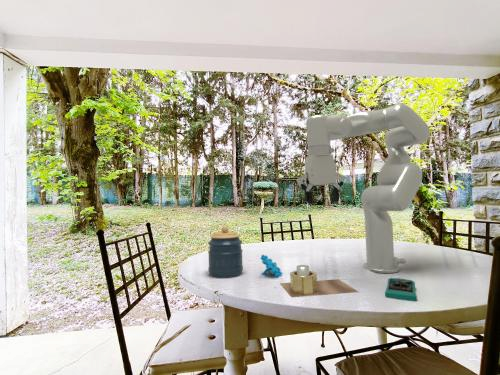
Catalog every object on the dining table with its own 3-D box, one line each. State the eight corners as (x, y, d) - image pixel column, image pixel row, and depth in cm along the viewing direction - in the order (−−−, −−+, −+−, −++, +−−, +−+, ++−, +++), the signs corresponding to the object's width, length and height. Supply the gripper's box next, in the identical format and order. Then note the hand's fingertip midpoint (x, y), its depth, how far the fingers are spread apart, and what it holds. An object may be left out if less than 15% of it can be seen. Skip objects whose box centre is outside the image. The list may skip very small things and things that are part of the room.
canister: (248, 270, 109) (247, 225, 110) (232, 279, 97) (231, 228, 98) (219, 268, 115) (219, 224, 115) (201, 276, 103) (200, 227, 104)
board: (338, 281, 93) (338, 279, 93) (359, 294, 80) (359, 291, 80) (279, 285, 90) (279, 283, 90) (291, 299, 77) (291, 297, 77)
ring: (310, 286, 87) (310, 269, 87) (320, 293, 80) (319, 275, 80) (288, 287, 86) (288, 271, 86) (296, 295, 79) (295, 277, 79)
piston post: (307, 288, 85) (306, 264, 85) (311, 292, 81) (310, 267, 81) (295, 289, 84) (294, 265, 84) (299, 293, 80) (298, 268, 81)
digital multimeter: (415, 289, 85) (414, 279, 85) (417, 306, 72) (416, 294, 72) (388, 285, 88) (387, 276, 89) (385, 301, 75) (384, 290, 76)
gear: (279, 276, 94) (259, 254, 98) (267, 288, 95) (248, 265, 99) (287, 272, 104) (269, 252, 108) (276, 283, 105) (258, 263, 109)
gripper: (337, 153, 102) (341, 200, 101) (291, 155, 99) (295, 203, 98) (348, 149, 94) (351, 200, 94) (298, 151, 91) (302, 204, 91)
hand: (322, 202), depth 96 cm, fingers open, 9 cm apart
